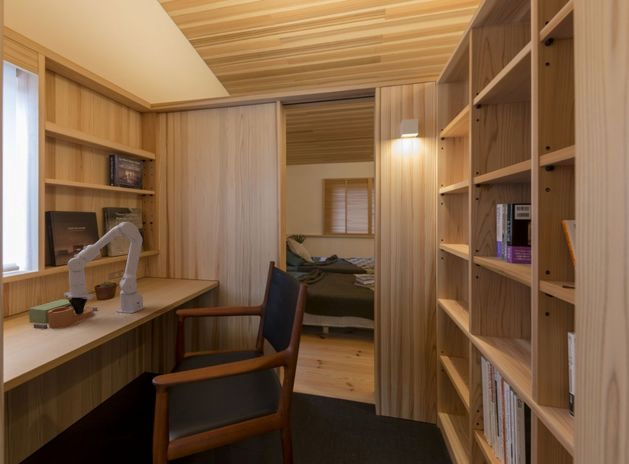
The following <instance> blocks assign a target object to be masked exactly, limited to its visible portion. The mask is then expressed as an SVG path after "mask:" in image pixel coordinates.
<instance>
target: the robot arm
mask: <svg viewBox="0 0 629 464" xmlns="http://www.w3.org/2000/svg"><path fill="white" fill-rule="evenodd" d="M122 236H125V237H126V238H127V239H128V240H129V241H130V244H129V249H128V255H127V260H126V265H125V270H124V273H123V275H122V278H121V280H120V281H119V286H118V287H119V288H120V289H121V290H120V292H119V301H120V302H119V303H120V308H119V309H117V310H116V312H117V313H126V314H127V313H128V314H133V313H135V312H139V311H141V310H144V309H145V306H144V299H143V298H144V297H143V294H141V293H139V292H138V289H137V288H138V284H137V272H138V265H139V261H140V260H139V259H140V256H141V251H142V244H143V237H142V235H141V232H140V231H139V228H138V226H136V225H135V224H134V223H133V222H130V221H121V222H120V223H119V224H118V225H115V226H114V227H113V228H111V229H110V230H108V232H106V233H105V234H104V235H103V236H102V237H101V238H100V239H99V240H97V242H95V243H94V244H89V245H87V246H86V245H85V246H83V249H81V251H80V252H79V253H77V254H74V255H73V258H70V259H69V261H68V262H67V264H66V266H67V268H68V285H69V292H68V291H67V292H64V293H63V298H64V299H65V298H69V299H68V300H69V302H70V303H71V305H72V306H73V308H74V310H75V313H76V314H81V313H83V310H84V308H85V307H86V306H85V305H86V304H87V301H89V300H92V299H94V294H92V293H88V292H87V285H86V282H87V281H86V273H85V268H86V264H89V263H90V262H92V261H93V260H94V259H95V258H96V257H97V256H99V255H100V253H101V249H102V248H104V247H105V246H106V245H107V244H108V243H110V242H111V241H112V240H113V239H116V238H119V237H122Z"/></svg>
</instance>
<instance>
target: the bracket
mask: <svg viewBox="0 0 629 464" xmlns="http://www.w3.org/2000/svg"><path fill="white" fill-rule="evenodd" d="M92 316H94V311H93V309H92V308H85V307H84V310H83V313H81V314H76V313H75V311H73V307H71V306H70V307H68V308H67V306H66V307H59V308H55V309H52V310H49V311H48V318H49V323H48V328H49V329H61V328H65V327H69V326H71V325H74V324H76V323H78V322H81V321H84V320H86V319H88V318H91V317H92Z"/></svg>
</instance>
